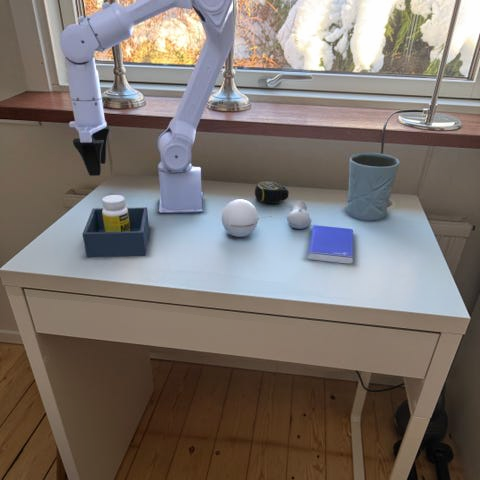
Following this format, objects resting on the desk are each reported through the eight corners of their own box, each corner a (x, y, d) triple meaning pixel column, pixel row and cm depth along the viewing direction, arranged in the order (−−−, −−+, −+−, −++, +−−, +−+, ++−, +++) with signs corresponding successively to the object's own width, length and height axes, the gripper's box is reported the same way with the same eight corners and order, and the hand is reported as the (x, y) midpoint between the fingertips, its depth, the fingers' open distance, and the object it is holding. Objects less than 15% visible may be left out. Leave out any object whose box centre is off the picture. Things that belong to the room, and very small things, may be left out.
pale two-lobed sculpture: (305, 237, 97) (282, 228, 97) (309, 221, 103) (288, 212, 103) (313, 220, 94) (290, 210, 94) (317, 204, 100) (295, 195, 100)
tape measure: (289, 203, 109) (290, 187, 107) (264, 208, 106) (265, 192, 104) (273, 193, 114) (274, 178, 111) (249, 198, 111) (249, 182, 109)
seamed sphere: (219, 242, 91) (219, 207, 87) (223, 226, 97) (223, 192, 93) (270, 245, 91) (272, 209, 87) (271, 229, 97) (273, 195, 93)
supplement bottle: (125, 246, 88) (120, 204, 83) (102, 244, 89) (95, 202, 84) (135, 236, 92) (130, 195, 87) (112, 233, 93) (106, 192, 88)
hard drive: (353, 256, 84) (353, 228, 94) (308, 251, 86) (313, 224, 96) (351, 264, 85) (352, 235, 95) (307, 259, 87) (312, 231, 96)
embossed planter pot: (396, 220, 102) (408, 165, 95) (353, 224, 100) (363, 168, 93) (374, 203, 110) (384, 151, 103) (334, 206, 108) (342, 153, 101)
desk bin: (149, 228, 96) (147, 207, 93) (145, 255, 87) (143, 232, 84) (96, 230, 95) (92, 208, 92) (86, 257, 86) (82, 233, 83)
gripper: (72, 91, 95) (84, 158, 103) (56, 106, 83) (71, 181, 91) (107, 91, 96) (116, 158, 103) (97, 106, 84) (108, 180, 92)
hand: (97, 169), depth 97 cm, fingers open, 7 cm apart
